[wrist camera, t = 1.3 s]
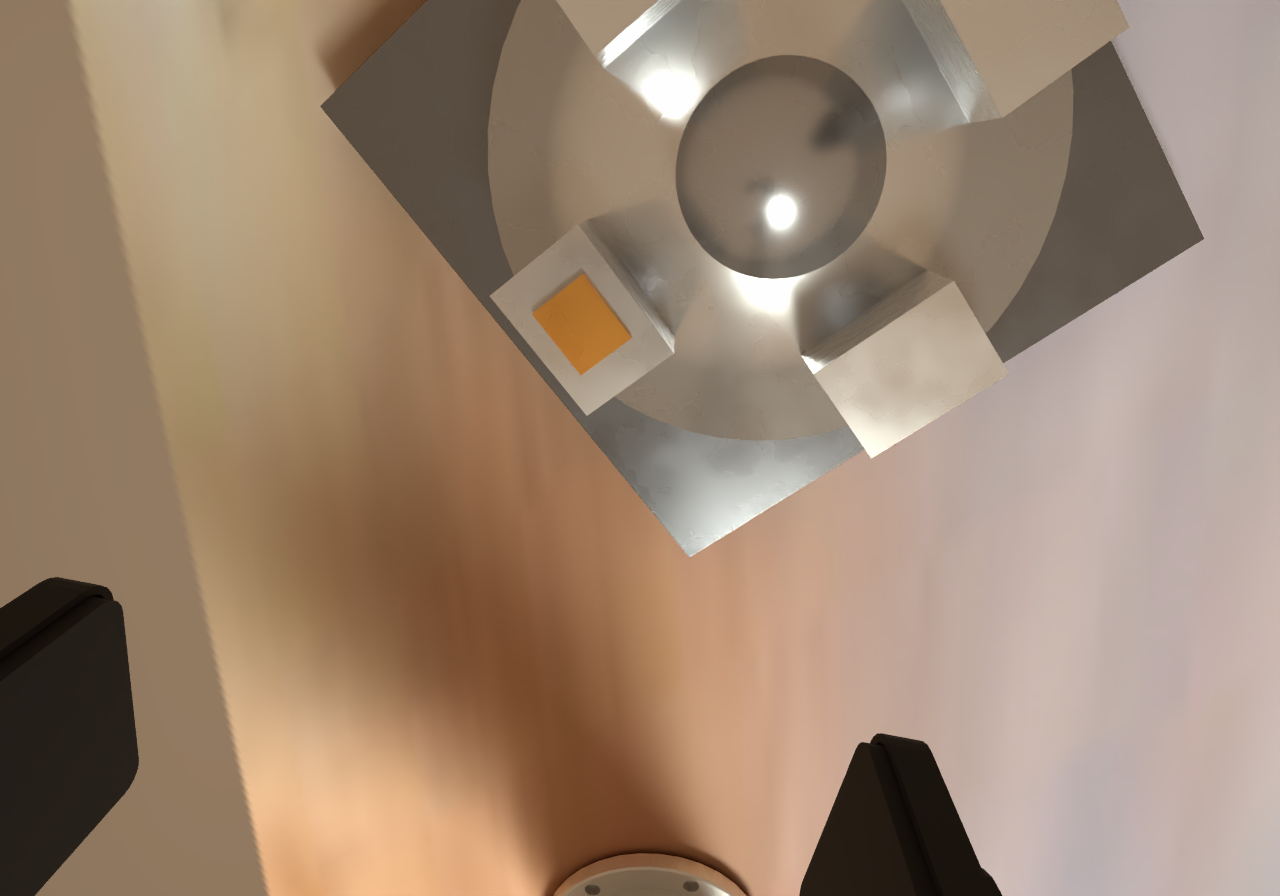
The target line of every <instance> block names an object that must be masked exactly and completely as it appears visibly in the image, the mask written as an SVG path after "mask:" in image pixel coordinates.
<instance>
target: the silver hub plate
mask: <svg viewBox="0 0 1280 896" xmlns="http://www.w3.org/2000/svg"><path fill="white" fill-rule="evenodd" d="M1127 28H1129V26H1128V24H1127V21H1126V19H1125V17H1124V15H1123V13H1122V11H1121V8H1120V6H1119V4H1118V2H1117V0H521V2H520V4H519V5H518V7H517V10H516V13H515V15H514V18H513V21H512V24H511V26H510V29H509V32H508V34H507V37H506V40H505V42H504V45H503V48H502V52H501V56H500V60H499V64H498V68H497V73H496V77H495V81H494V85H493V90H492V98H491V107H490V116H489V125H488V174H489V182H490V189H491V197H492V205H493V211H494V215H495V219H496V223H497V227H498V231H499V235H500V239H501V243H502V247H503V249H504V252H505V254H506V257H507V260H508V262H509V265H510V267H511V270H512V273H513V275H514V277H512V278H511V279H510V280H509V281H507V282H506V283H505V284H504V285H503V286H501V287H500V288H499V289H498V290H496V291H495V292H494V293H493V294H491V295H490V297H491V299H492V300H493V301H494V302H495V303H496V305H497V306H498V307H499V308H500V310H501V311H502V312H503V313H504V315H505V316H506V317H507V318H508V319H509V321H510V322H511V323H512V324H513V326H514V327H515V328H516V329H517V331H518V332H519V333H520V334H521V336H522V337H523V338H524V339H525V340H526V342H527V343H528V344H529V345H530V347H531V348H532V349H533V350H534V352H535V353H536V354H537V355H538V356H539V358H540V359H541V360H542V361H543V363H544V364H545V365H546V366H547V368H548V369H549V370H550V371H551V372H552V374H553V375H554V376H555V377H556V379H557V380H558V381H559V382H560V384H561V385H562V386H563V387H564V388H565V390H566V391H567V392H568V393H569V395H570V396H571V397H572V398H573V400H574V401H575V402H576V403H577V404H578V406H579V407H580V408H581V409H582V411H583V412H584V413H585V414H586V416H588V415H589V414H590V413H592V412H593V411H595V410H596V409H597V408H599V407H600V406H602V405H603V404H604V403H606V402H607V401H608V400H610V399H611V398H613V397H615V398H617V399H618V400H620V401H621V402H623V403H625V404H626V405H628V406H629V407H631V408H633V409H635V410H637V411H639V412H641V413H643V414H646V415H648V416H650V417H652V418H654V419H656V420H658V421H661V422H663V423H666V424H669V425H672V426H675V427H678V428H681V429H684V430H687V431H690V432H695V433H700V434H704V435H709V436H714V437H718V438H727V439H739V440H750V441H759V440H786V439H792V438H799V437H805V436H812V435H818V434H822V433H826V432H829V431H833V430H836V429H840V428H843V427H847V426H849V427H850V428H851V430H852V431H853V433H854V434H855V436H856V437H857V438H858V440H859V441H860V443H861V444H862V446H863V447H864V449H865V450H866V452H867V453H868V454H869V456H870V457H871V458H873V457H874V456H876V455H878V454H879V453H881V452H883V451H884V450H886V449H888V448H889V447H891V446H892V445H894V444H896V443H897V442H899V441H901V440H902V439H904V438H905V437H907V436H909V435H910V434H912V433H914V432H915V431H917V430H918V429H920V428H922V427H923V426H925V425H927V424H928V423H930V422H931V421H933V420H935V419H936V418H938V417H940V416H941V415H943V414H945V413H946V412H948V411H949V410H951V409H953V408H954V407H956V406H958V405H959V404H961V403H962V402H964V401H966V400H967V399H969V398H971V397H972V396H974V395H975V394H977V393H979V392H980V391H982V390H984V389H985V388H987V387H989V386H990V385H992V384H993V383H995V382H997V381H998V380H1000V379H1002V378H1003V377H1005V376H1006V375H1008V374H1009V373H1008V371H1007V369H1006V367H1005V366H1004V364H1003V362H1002V361H1001V359H1000V357H999V356H998V354H997V352H996V351H995V349H994V347H993V346H992V344H991V342H990V341H989V339H988V337H987V336H986V333H987V332H988V331H989V329H990V328H991V327H992V326H993V325H994V324H995V323H996V322H997V320H998V319H999V318H1000V316H1001V315H1002V313H1003V312H1004V311H1005V309H1006V308H1007V306H1008V305H1009V304H1010V302H1011V301H1012V299H1013V298H1014V296H1015V295H1016V294H1017V292H1018V291H1019V289H1020V288H1021V286H1022V284H1023V282H1024V281H1025V279H1026V277H1027V275H1028V273H1029V271H1030V270H1031V268H1032V266H1033V264H1034V262H1035V261H1036V259H1037V257H1038V255H1039V253H1040V251H1041V248H1042V246H1043V243H1044V241H1045V239H1046V236H1047V234H1048V231H1049V229H1050V226H1051V224H1052V221H1053V219H1054V216H1055V213H1056V210H1057V206H1058V203H1059V199H1060V195H1061V192H1062V188H1063V184H1064V181H1065V177H1066V172H1067V166H1068V159H1069V152H1070V146H1071V139H1072V127H1073V82H1072V72H1071V69H1072V68H1073V67H1074V66H1076V65H1077V64H1079V63H1080V62H1081V61H1083V60H1084V59H1086V58H1087V57H1088V56H1090V55H1091V54H1092V53H1094V52H1095V51H1097V50H1098V49H1099V48H1101V47H1102V46H1104V45H1105V44H1106V43H1108V42H1109V41H1111V40H1112V39H1113V38H1115V37H1116V36H1118V35H1119V34H1120V33H1122V32H1123V31H1125V30H1126V29H1127Z"/></svg>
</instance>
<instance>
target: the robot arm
mask: <svg viewBox="0 0 1280 896" xmlns="http://www.w3.org/2000/svg"><path fill="white" fill-rule="evenodd" d="M138 762H139V757H138V748H137V738H136V729H135V720H134V710H133V701H132V692H131V682H130V673H129V663H128V655H127V645H126V635H125V627H124V617H123V610H122V606H121V605H120V604H119V602H117V601H114V600H113V596H112V593H111V592H110V590H109V589H108V588H107V587H104V586H100V585H96V584H91V583H85V582H80V581H74V580H69V579H64V578H59V577H55V578H49V579H46V580H44V581H42V582H41V583H38V584H37V585H36V586H34V587H32V588H31V589H29V590H28V591H26V592H25V593H23V594H22V595H20V596H19V597H17V598H16V599H14V600H13V601H11V602H9V603H8V604H6V605H5V606H3V607H2V608H0V896H35V895H36V893H37V892H38V891H39V890H40V889H41V888H42V887H43V886H44V884H45V883H46V882H47V881H48V880H49V879H50V877H51V876H52V875H53V874H54V873H55V872H56V871H57V869H59V867H60V866H61V865H62V864H63V863H64V862H65V861H66V860H67V858H68V857H69V856H70V855H71V854H72V853H73V851H74V850H75V849H76V848H77V847H78V846H79V845H80V844H81V843H82V841H83V840H84V839H85V838H86V837H87V836H88V834H89V833H90V832H91V831H92V830H93V829H94V828H95V827H96V826H97V824H98V823H99V822H100V821H101V820H102V819H103V818H104V817H105V815H106V814H107V813H108V812H109V811H110V809H112V807H113V806H114V805H115V804H116V803H117V802H118V801H119V799H120V798H121V797H122V796H123V795H124V794H125V792H126V791H127V790H128V789H129V787H130V785H131V784H132V781H133V780H134V777H135V775H136V773H137V769H138V765H139V763H138ZM554 896H746V895H745V894H744V893H743V891H742V890H741V889H740V888H739V887H738V886H737V885H736V884H735V883H733V882H732V881H731V880H729V879H728V878H726V877H725V876H724V875H722V874H721V873H719V872H717V871H715V870H713V869H711V868H709V867H707V866H705V865H703V864H701V863H698V862H695V861H692V860H689V859H685V858H682V857H677V856H671V855H665V854H652V853H636V854H627V855H619V856H615V857H611V858H607V859H603V860H600V861H597V862H595V863H593V864H591V865H589V866H586V867H584V868H582V869H580V870H579V871H577V872H576V873H575V874H573V875H572V876H570V877H569V878H567V879H566V880H565V882H564V883H563V884H562V885H561V886H560V887H559V888H558V889H557V890H556V892H555V894H554ZM800 896H1002V894H1001V892H1000V890H999V889H998V887H997V885H996V883H995V881H994V880H993V878H992V877H991V876H990V875H989V874H988V873H987V872H986V871H985V870H984V869H982V868H981V866H980V864H979V862H978V859H977V857H976V855H975V852H974V850H973V848H972V845H971V843H970V841H969V838H968V836H967V834H966V831H965V829H964V827H963V824H962V822H961V820H960V817H959V815H958V813H957V810H956V808H955V806H954V803H953V801H952V799H951V796H950V794H949V792H948V789H947V787H946V785H945V782H944V780H943V778H942V775H941V773H940V771H939V768H938V766H937V764H936V761H935V759H934V757H933V754H932V752H931V750H930V748H929V747H928V745H927V744H926V743H924V742H923V741H919V740H913V739H908V738H903V737H897V736H892V735H887V734H876V735H875V736H874V737H873V739H872V740H871V742H870V743H864V742H861V743H860V744H859V745H858V746H857V748H856V750H855V753H854V755H853V758H852V760H851V763H850V765H849V768H848V770H847V773H846V775H845V778H844V780H843V782H842V785H841V787H840V790H839V792H838V795H837V797H836V800H835V802H834V805H833V807H832V810H831V812H830V815H829V817H828V820H827V822H826V825H825V827H824V830H823V832H822V835H821V837H820V839H819V842H818V844H817V847H816V849H815V852H814V854H813V857H812V859H811V862H810V864H809V867H808V869H807V872H806V874H805V877H804V879H803V882H802V885H801V889H800Z"/></svg>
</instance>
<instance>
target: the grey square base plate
mask: <svg viewBox="0 0 1280 896" xmlns="http://www.w3.org/2000/svg"><path fill="white" fill-rule="evenodd" d="M520 2H521V0H427V1H426V2H425V3H424V4H423V5H422V6H421V7H420V8H419V9H418V10H417V11H416V12H415V13H414V14H413V15H412V16H411V17H410V18H409V19H408V20H407V21H406V22H405V23H404V24H403V25H402V26H401V27H400V28H399V29H398V30H397V31H396V32H395V33H394V34H393V35H392V36H391V37H390V38H389V39H388V40H387V41H386V42H385V43H384V44H383V45H382V46H381V47H380V48H379V49H378V50H377V51H376V52H375V53H374V54H373V55H372V56H371V57H370V58H369V59H368V60H367V61H366V62H365V63H364V64H363V65H362V66H361V67H360V68H359V69H357V70H356V71H355V72H354V73H353V74H352V75H351V76H350V77H349V78H348V79H347V80H346V81H345V82H344V83H343V84H342V85H341V86H340V87H339V88H338V89H337V90H336V91H335V92H334V93H333V94H332V95H331V96H330V97H329V98H328V99H327V100H326V101H325V102H324V103H323V104H322V105H321V106H320V107H321V108H322V109H323V110H324V111H325V113H326V114H327V115H328V116H329V118H330V119H331V120H332V121H333V122H334V124H335V125H336V126H337V127H338V129H339V130H340V131H341V132H342V133H343V135H344V136H345V137H346V138H347V140H348V141H349V142H350V143H351V144H352V146H353V147H354V148H355V149H356V151H357V152H358V153H359V154H360V155H361V157H362V158H363V159H364V160H365V162H366V163H367V164H368V165H369V166H370V168H371V169H372V170H373V171H374V173H375V174H376V175H377V176H378V177H379V179H380V180H381V181H382V182H383V184H384V185H385V186H386V187H387V188H388V190H389V191H390V192H391V193H392V195H393V196H394V197H395V198H396V199H397V201H398V202H399V203H400V204H401V206H402V207H403V208H404V209H405V210H406V212H407V213H408V214H409V215H410V217H411V218H412V219H413V220H414V221H415V223H416V224H417V225H418V226H419V228H420V229H421V230H422V231H423V232H424V234H425V235H426V236H427V237H428V239H429V240H430V241H431V242H432V243H433V245H434V246H435V247H436V248H437V250H438V251H439V252H440V253H441V254H442V256H443V257H444V258H445V259H446V261H447V262H448V263H449V264H450V265H451V267H452V268H453V269H454V270H455V272H456V273H457V274H458V275H459V276H460V278H461V279H462V280H463V281H464V283H465V284H466V285H467V286H468V287H469V289H470V290H471V291H472V292H473V294H474V295H475V296H476V297H477V298H478V300H479V301H480V302H481V303H482V305H483V306H484V307H485V308H486V309H487V311H488V312H489V313H490V314H491V316H492V317H493V318H494V319H495V320H496V322H497V323H498V324H499V325H500V327H501V328H502V329H503V330H504V331H505V333H506V334H507V335H508V336H509V338H510V339H511V340H512V341H513V342H514V344H515V345H516V346H517V347H518V349H519V350H520V351H521V352H522V353H523V355H524V356H525V357H526V358H527V360H528V361H529V362H530V363H531V364H532V366H533V367H534V368H535V369H536V371H537V372H538V373H539V374H540V375H541V377H542V378H543V379H544V380H545V382H546V383H547V384H548V385H549V386H550V388H551V389H552V390H553V391H554V393H555V394H556V395H557V396H558V397H559V399H560V400H561V401H562V402H563V404H564V405H565V406H566V407H567V408H568V410H569V411H570V412H571V413H572V415H573V416H574V417H575V418H576V419H577V421H578V422H579V423H580V424H581V426H582V427H583V428H584V429H585V430H586V432H587V433H588V434H589V435H590V437H591V438H592V439H593V440H594V441H595V443H596V444H597V445H598V446H599V448H600V449H601V450H602V451H603V452H604V454H605V455H606V456H607V457H608V459H609V460H610V461H611V462H612V463H613V465H614V466H615V467H616V468H617V470H618V471H619V472H620V473H621V474H622V476H623V477H624V478H625V479H626V481H627V482H628V483H629V484H630V485H631V487H632V488H633V489H634V490H635V492H636V493H637V494H638V495H639V496H640V498H641V499H642V500H643V501H644V503H645V504H646V505H647V506H648V507H649V509H650V510H651V511H652V512H653V514H654V515H655V516H656V517H657V518H658V520H659V521H660V522H661V523H662V525H663V526H664V527H665V528H666V529H667V531H668V532H669V533H670V534H671V536H672V537H673V538H674V539H675V540H676V542H677V543H678V544H679V545H680V547H681V548H682V549H683V550H684V551H685V553H686V554H687V555H688V556H689V558H690V557H691V556H693V555H694V554H696V553H698V552H699V551H701V550H702V549H704V548H706V547H707V546H709V545H711V544H712V543H714V542H715V541H717V540H719V539H720V538H722V537H723V536H725V535H727V534H728V533H730V532H731V531H733V530H735V529H736V528H738V527H740V526H741V525H743V524H744V523H746V522H748V521H749V520H751V519H752V518H754V517H756V516H757V515H759V514H761V513H762V512H764V511H765V510H767V509H769V508H770V507H772V506H773V505H775V504H777V503H778V502H780V501H782V500H783V499H785V498H786V497H788V496H790V495H791V494H793V493H794V492H796V491H798V490H799V489H801V488H803V487H804V486H806V485H807V484H809V483H811V482H812V481H814V480H815V479H817V478H819V477H820V476H822V475H824V474H825V473H827V472H828V471H830V470H832V469H833V468H835V467H836V466H838V465H840V464H841V463H843V462H844V461H846V460H848V459H849V458H851V457H853V456H854V455H856V454H857V453H859V452H861V451H862V450H864V447H863V446H862V444H861V443H860V441H859V440H858V438H857V437H856V436H855V434H854V433H853V431H852V430H851V428H850V427H849V426H847V427H843V428H840V429H836V430H833V431H829V432H826V433H822V434H818V435H812V436H805V437H799V438H792V439H786V440H759V441H750V440H739V439H727V438H718V437H714V436H709V435H704V434H700V433H695V432H690V431H687V430H684V429H681V428H678V427H675V426H672V425H669V424H666V423H663V422H661V421H658V420H656V419H654V418H652V417H650V416H648V415H646V414H643V413H641V412H639V411H637V410H635V409H633V408H631V407H629V406H628V405H626V404H625V403H623V402H621V401H620V400H618V399H617V398H615V397H613V398H611V399H610V400H608V401H607V402H606V403H604V404H603V405H602V406H600V407H599V408H597V409H596V410H595V411H593V412H592V413H590V414H589V415H588V416H586V414H585V413H584V412H583V411H582V409H581V408H580V407H579V406H578V404H577V403H576V402H575V401H574V400H573V398H572V397H571V396H570V395H569V393H568V392H567V391H566V390H565V388H564V387H563V386H562V385H561V384H560V382H559V381H558V380H557V379H556V377H555V376H554V375H553V374H552V372H551V371H550V370H549V369H548V368H547V366H546V365H545V364H544V363H543V361H542V360H541V359H540V358H539V356H538V355H537V354H536V353H535V352H534V350H533V349H532V348H531V347H530V345H529V344H528V343H527V342H526V340H525V339H524V338H523V337H522V336H521V334H520V333H519V332H518V331H517V329H516V328H515V327H514V326H513V324H512V323H511V322H510V321H509V319H508V318H507V317H506V316H505V315H504V313H503V312H502V311H501V310H500V308H499V307H498V306H497V305H496V303H495V302H494V301H493V300H492V299H491V297H490V295H491V294H493V293H494V292H495V291H496V290H498V289H499V288H500V287H501V286H503V285H504V284H505V283H506V282H507V281H509V280H510V279H511V278H512V277H514V275H513V273H512V270H511V267H510V265H509V262H508V260H507V257H506V254H505V252H504V249H503V247H502V243H501V239H500V235H499V231H498V227H497V223H496V219H495V215H494V211H493V205H492V197H491V189H490V182H489V174H488V125H489V116H490V107H491V98H492V90H493V85H494V81H495V77H496V73H497V68H498V64H499V60H500V56H501V52H502V48H503V45H504V42H505V40H506V37H507V34H508V32H509V29H510V26H511V24H512V21H513V18H514V15H515V13H516V10H517V7H518V5H519V4H520ZM1071 72H1072V82H1073V127H1072V139H1071V146H1070V152H1069V159H1068V166H1067V172H1066V177H1065V181H1064V184H1063V188H1062V192H1061V195H1060V199H1059V203H1058V206H1057V210H1056V213H1055V216H1054V219H1053V221H1052V224H1051V226H1050V229H1049V231H1048V234H1047V236H1046V239H1045V241H1044V243H1043V246H1042V248H1041V251H1040V253H1039V255H1038V257H1037V259H1036V261H1035V262H1034V264H1033V266H1032V268H1031V270H1030V271H1029V273H1028V275H1027V277H1026V279H1025V281H1024V282H1023V284H1022V286H1021V288H1020V289H1019V291H1018V292H1017V294H1016V295H1015V296H1014V298H1013V299H1012V301H1011V302H1010V304H1009V305H1008V306H1007V308H1006V309H1005V311H1004V312H1003V313H1002V315H1001V316H1000V318H999V319H998V320H997V322H996V323H995V324H994V325H993V326H992V327H991V328H990V329H989V331H988V332H987V333H986V336H987V337H988V339H989V341H990V342H991V344H992V346H993V347H994V349H995V351H996V352H997V354H998V356H999V357H1000V359H1001V361H1002V362H1003V363H1004V362H1006V361H1008V360H1009V359H1011V358H1012V357H1014V356H1016V355H1017V354H1019V353H1020V352H1022V351H1024V350H1025V349H1027V348H1029V347H1030V346H1032V345H1033V344H1035V343H1037V342H1038V341H1040V340H1041V339H1043V338H1045V337H1046V336H1048V335H1050V334H1051V333H1053V332H1054V331H1056V330H1058V329H1059V328H1061V327H1062V326H1064V325H1066V324H1067V323H1069V322H1071V321H1072V320H1074V319H1075V318H1077V317H1079V316H1080V315H1082V314H1083V313H1085V312H1087V311H1088V310H1090V309H1092V308H1093V307H1095V306H1096V305H1098V304H1100V303H1101V302H1103V301H1104V300H1106V299H1108V298H1109V297H1111V296H1112V295H1114V294H1116V293H1117V292H1119V291H1121V290H1122V289H1124V288H1125V287H1127V286H1129V285H1130V284H1132V283H1133V282H1135V281H1137V280H1138V279H1140V278H1142V277H1143V276H1145V275H1146V274H1148V273H1150V272H1151V271H1153V270H1154V269H1156V268H1158V267H1159V266H1161V265H1163V264H1164V263H1166V262H1167V261H1169V260H1171V259H1172V258H1174V257H1175V256H1177V255H1179V254H1180V253H1182V252H1184V251H1185V250H1187V249H1188V248H1190V247H1192V246H1193V245H1195V244H1196V243H1198V242H1200V241H1201V240H1203V239H1204V237H1203V235H1202V233H1201V231H1200V229H1199V227H1198V225H1197V223H1196V220H1195V218H1194V216H1193V214H1192V212H1191V210H1190V208H1189V206H1188V203H1187V201H1186V199H1185V197H1184V195H1183V193H1182V191H1181V189H1180V186H1179V184H1178V182H1177V180H1176V178H1175V176H1174V174H1173V172H1172V169H1171V167H1170V165H1169V163H1168V161H1167V159H1166V157H1165V155H1164V153H1163V150H1162V148H1161V146H1160V144H1159V142H1158V140H1157V138H1156V136H1155V133H1154V131H1153V129H1152V127H1151V125H1150V123H1149V121H1148V119H1147V116H1146V114H1145V112H1144V110H1143V108H1142V106H1141V104H1140V102H1139V99H1138V97H1137V95H1136V93H1135V91H1134V89H1133V87H1132V85H1131V82H1130V80H1129V78H1128V76H1127V74H1126V72H1125V70H1124V68H1123V65H1122V63H1121V61H1120V59H1119V57H1118V55H1117V53H1116V51H1115V49H1114V46H1113V44H1112V42H1111V41H1109V42H1108V43H1106V44H1105V45H1104V46H1102V47H1101V48H1099V49H1098V50H1097V51H1095V52H1094V53H1092V54H1091V55H1090V56H1088V57H1087V58H1086V59H1084V60H1083V61H1081V62H1080V63H1079V64H1077V65H1076V66H1074V67H1073V68H1072V69H1071Z"/></svg>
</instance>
